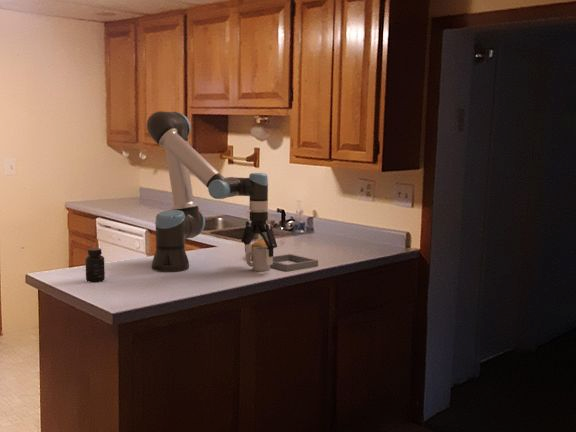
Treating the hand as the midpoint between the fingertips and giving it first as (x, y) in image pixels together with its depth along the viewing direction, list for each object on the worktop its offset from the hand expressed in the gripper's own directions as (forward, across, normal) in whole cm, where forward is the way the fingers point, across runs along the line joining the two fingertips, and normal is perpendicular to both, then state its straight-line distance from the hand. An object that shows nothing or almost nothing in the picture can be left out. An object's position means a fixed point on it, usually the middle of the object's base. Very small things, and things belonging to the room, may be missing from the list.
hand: (258, 262), depth 269 cm
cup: (+3, 0, 0) cm, 3 cm away
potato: (+3, +19, -17) cm, 26 cm away
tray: (+3, -1, -16) cm, 16 cm away
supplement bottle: (+3, +22, +61) cm, 65 cm away
